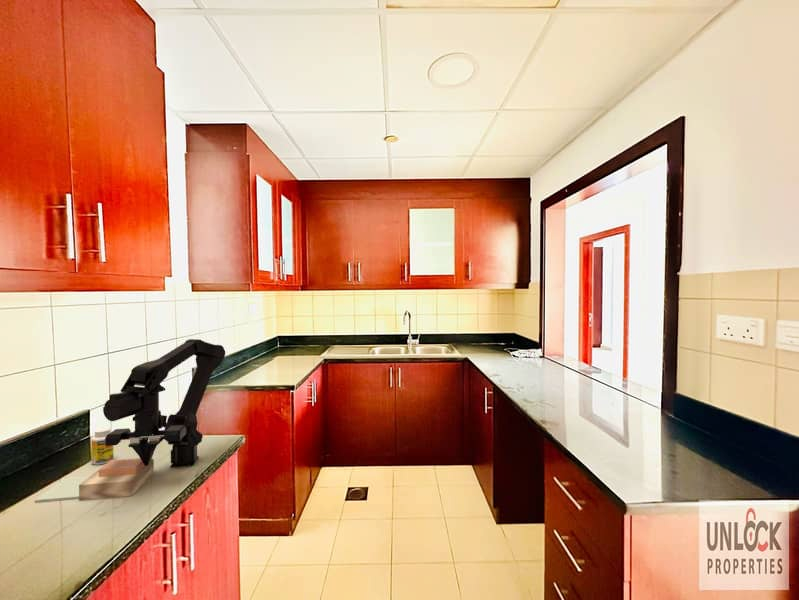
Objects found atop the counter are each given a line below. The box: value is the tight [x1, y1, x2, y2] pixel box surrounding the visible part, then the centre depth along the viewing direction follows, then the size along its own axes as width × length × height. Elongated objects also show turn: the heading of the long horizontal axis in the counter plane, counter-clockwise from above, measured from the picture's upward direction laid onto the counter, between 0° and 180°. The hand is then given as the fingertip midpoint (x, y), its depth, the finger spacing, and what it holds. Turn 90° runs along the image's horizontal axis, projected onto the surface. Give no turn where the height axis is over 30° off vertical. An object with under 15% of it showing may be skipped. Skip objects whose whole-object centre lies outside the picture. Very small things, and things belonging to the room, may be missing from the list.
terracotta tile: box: [98, 457, 145, 477], centre depth 108 cm, size 9×6×2 cm, turn 101°
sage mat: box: [34, 475, 91, 503], centre depth 106 cm, size 10×12×1 cm
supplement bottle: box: [91, 427, 115, 466], centre depth 123 cm, size 6×6×10 cm
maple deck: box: [78, 458, 155, 501], centre depth 108 cm, size 12×14×4 cm
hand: (147, 465), depth 109 cm, fingers closed
